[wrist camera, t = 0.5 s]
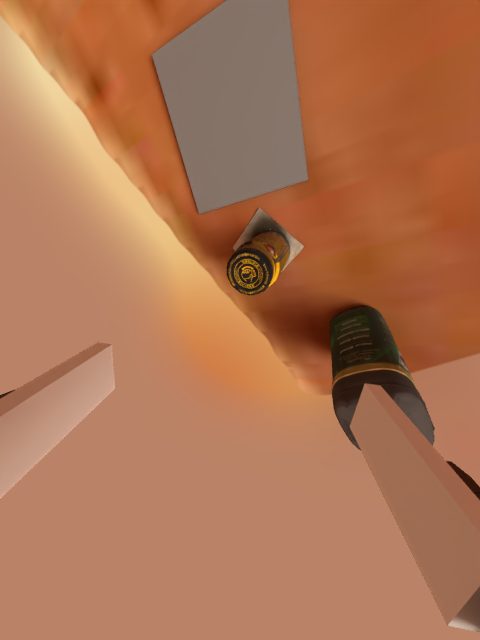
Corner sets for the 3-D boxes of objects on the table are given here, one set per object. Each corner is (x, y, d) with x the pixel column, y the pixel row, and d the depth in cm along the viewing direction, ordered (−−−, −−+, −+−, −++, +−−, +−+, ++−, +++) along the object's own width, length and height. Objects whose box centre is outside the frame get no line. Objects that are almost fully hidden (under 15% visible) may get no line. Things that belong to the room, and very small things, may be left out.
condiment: (272, 282, 36) (252, 313, 26) (232, 248, 36) (196, 267, 26) (304, 246, 32) (295, 267, 22) (259, 207, 32) (230, 211, 22)
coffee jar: (322, 316, 36) (320, 404, 21) (375, 297, 32) (422, 388, 17) (344, 362, 39) (358, 471, 23) (396, 350, 35) (455, 471, 19)
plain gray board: (156, 58, 28) (151, 54, 27) (284, -32, 21) (283, -41, 21) (202, 213, 35) (199, 214, 34) (308, 180, 28) (307, 179, 28)
